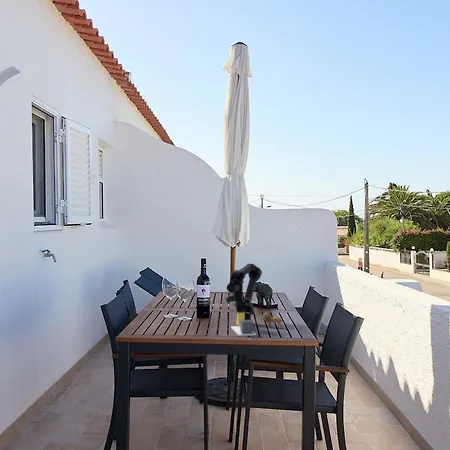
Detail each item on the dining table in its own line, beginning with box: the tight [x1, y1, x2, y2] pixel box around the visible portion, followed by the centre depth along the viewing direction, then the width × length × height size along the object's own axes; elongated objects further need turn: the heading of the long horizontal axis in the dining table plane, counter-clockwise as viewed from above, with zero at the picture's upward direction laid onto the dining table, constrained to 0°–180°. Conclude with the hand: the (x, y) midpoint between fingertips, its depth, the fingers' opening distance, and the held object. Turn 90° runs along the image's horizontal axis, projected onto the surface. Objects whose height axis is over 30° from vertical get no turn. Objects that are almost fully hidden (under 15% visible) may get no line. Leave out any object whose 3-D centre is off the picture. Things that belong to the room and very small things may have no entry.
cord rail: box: [230, 319, 257, 337], centre depth 286 cm, size 22×10×8 cm, turn 11°
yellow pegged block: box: [236, 312, 245, 326], centre depth 293 cm, size 4×4×8 cm
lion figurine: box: [262, 312, 286, 330], centre depth 299 cm, size 15×5×9 cm, turn 70°
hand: (238, 315), depth 300 cm, fingers closed
